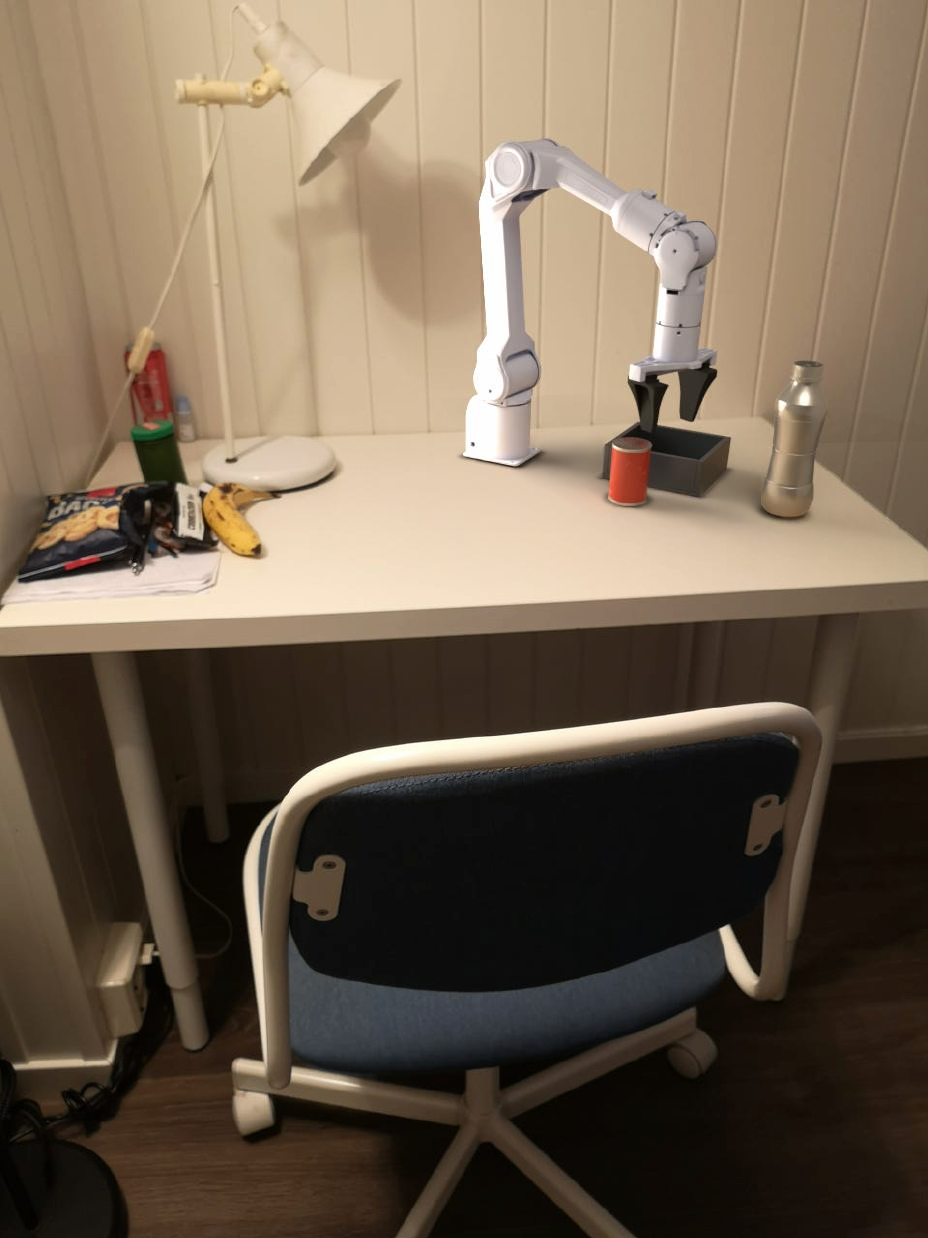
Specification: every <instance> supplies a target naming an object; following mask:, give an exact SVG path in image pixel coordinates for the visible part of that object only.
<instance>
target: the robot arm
mask: <svg viewBox="0 0 928 1238" xmlns="http://www.w3.org/2000/svg"><path fill="white" fill-rule="evenodd" d="M485 174H486V176H485V182H484V185H483V187H482V192H481V195H480V199H479V203H478V209H479V210H478V211H479V225H480V226H479V227H480V239H481V241H480V242H481V256H482V270H483V284H484V285H483V286H484V301H485V315H486V328H487V329H486V332H487V333H486V337H485V338H484V339H483V341H482V343H481V345H480V346H479V347H478V349H477V352H476V356H477V357H476V358H477V359H476V360H477V362H476V367H475V369H474V373H473V385H474V388H475V390H476V393H477V394H475V395H474V396H472V398H471V399H470V400H469V402H468V405H467V409H466V413H465V451H464V452H463V457H467V458H471V459H476V460H481V461H487V462H492V463H496V464H501V465H506V466H511V467H518V466H520V465H522V464H524V463H525V462H526V461H528V460H530V459H532V458H533V457H535V456H536V455H537V454H539V453H540V452H541V449H540V448H537V447H531V445H530V444H531V417H532V409H531V408H532V396H533V395H534V388H535V387H536V386H537V385H538V384H539V383H540V380H541V378H542V365H541V362H540V360H539V357H538V355H537V353H536V345H535V343H536V342H535V340H534V339H533V338H532V337H531V336H530V335H529V334H528V333H527V331H526V324H525V322H526V321H525V305H524V304H525V303H524V302H525V301H524V285H523V283H524V282H523V266H522V265H523V263H522V246H521V245H522V243H521V242H522V241H521V224H520V222H521V221H520V217H521V215H522V213H524V211H525V210H526V209H527V208H528V207H529V206H530V205H531V204H532V202H533V201H534V200H535V199H536V198H539V196H541V195H543V194H545V193H546V192H548V191H550V190H552V189H563V190H565V191H566V192H568V193H570V194H572V195H574V196H575V197H577V198H578V199H580V200H582V201H583V202H585V203H587V204H589V205H591V206H592V207H594V208H596V209H597V210H599V211H601V212H603V213H604V214H606V215H608V216H610V217H611V222H612V227H613V229H614V231H615V233H617V234H619V235H620V236H621V237H623V238H625V239H626V240H627V241H629V242H631V243H632V244H634V245H635V246H636V247H639V248H640V249H642V250H643V251H644V252H646V253H648V254H649V255H651V256H652V257H654V261H655V264H656V266H657V268H658V269H659V272H660V277H659V278H660V279H659V287H658V297H657V298H658V299H657V307H656V320H655V329H654V338H653V349H652V350H653V352H652V354H651V355H649V356H647V357H645V358H643V359H641V360H639V361H637V362H633V363H630V364H629V374H628V375H627V384H628V387H629V389H630V390H631V393H632V395H633V398H634V401H635V404H636V408H637V412H638V418H639V422H640V425H641V429H642V430H645V431H648V432H650V433H653V432H655V431H656V428H657V425H659V424H658V423H659V417H660V411H661V407H662V403H663V401H664V400H663V399H664V397H665V395H666V392H667V390H668V388H669V387H670V386H669V384H668V383H664V382H661V381H660V379H659V378H658V377H659V376H664V375H668V374H673V373H677V375H678V381H679V407H678V410H679V411H678V412H679V413H678V414H679V419H680V420H683V421H686V422H689V423H693V422H695V420H696V418H697V415H698V412H699V409H700V407H701V405H702V403H703V401H704V398H705V396H706V394H707V392H708V390H709V388H710V387H711V385H712V384H713V382H714V381H715V380H716V379H717V377H718V369H716V368H713V367H714V366H717V357H718V350H717V349H713V348H708V347H705V348H699V344H700V335H701V328H702V318H703V309H704V301H705V293H706V283H707V273H708V265H709V264H710V263H711V262H712V261H713V259H714V258H715V256H716V254H717V250H718V238H717V236H716V233H715V231H714V230H713V229H712V227H711V226H710V225H708V224H707V221H705V220H703V219H692V220H689V221H688V219H687V213H685V212H684V211H682V210H677V211H676V210H674V209H672V208H671V207H669V206H667V205H666V204H665V203H663V202H662V201H660V200H658V199H657V196H658V193H657V192H656V191H655V190H652V189H651V188H649V189H644V190H643V189H640V188H637V189H633V190H631V191H629V192H627V191H625V190H624V189H623V188H621V187H620V186H619V185H617V184H616V183H615V182H613V181H612V180H610V179H609V178H608V177H607V176H605V175H604V174H602V173H601V172H599V171H598V170H597V169H595V168H594V167H592V166H591V165H590V164H588V163H587V162H586V161H585V160H583V159H582V158H580V157H579V156H578V155H576V154H575V152H573V150H572V149H571V148H570V147H567V146H565V145H560V144H559V143H558V142H557V141H555V140H554V139H552V138H546V137H545V138H544V137H543V138H540V139H535V140H523V141H522V140H521V141H514V140H508V141H505V142H502V143H501V144H500V145H499V146H497V147H496V148H495V150H493V152H492V154H490V155H489V156H488V158H487V159H486V160H485ZM712 366H713V367H712Z"/></svg>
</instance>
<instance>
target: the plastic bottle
mask: <svg viewBox="0 0 928 1238" xmlns="http://www.w3.org/2000/svg"><path fill="white" fill-rule="evenodd" d="M824 369H825V364H824V363H823V362H820V361H815V360H806V359H805V360H796V361H793V363H792V367H791V372H790V373H789V379H791V381H790V382H789V383H788V384H787V385H786V386H785V387H784V388H783V389H782V390H781V391H780V392H779V394H778V395H777V396H776V398H775V401H774V404H773V438H772V449H771V455H770V459H769V464H768V468H767V473H766V476H765V477H764V480H763V483H762V487H761V490H760V503H761V505H762V508H763V509H764V510H765V511H766V513H769V514H772V515H775V516H779V517H785V518H795V517H800V516H803V515H805V514H806V513H807V512H808V511H809V510H810V508H811V506H812V503H813V501H814V491H815V490H814V488H815V487H814V474H815V473H814V471H815V461H816V460H815V459H816V453H817V449H818V445H819V440H820V436H821V433H822V431H823V427H824V425H825V422H826V419H827V415H828V411H829V403H828V399H827V396H826V394H825V391H824V390H823V388H822V387H821V385H820V382H821V381H822V382H823V380H824V379H823V378H824Z"/></svg>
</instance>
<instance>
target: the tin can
mask: <svg viewBox="0 0 928 1238" xmlns="http://www.w3.org/2000/svg"><path fill="white" fill-rule="evenodd" d="M651 448H652V444H651V442H649V441H647V440H644V439H640V438H632V437H626V438H619V439H616V440H614V441H613V442H612V457H611V470H610V479H609V482H608V483H609V485H608V495H607V499H608V501H609V502H610V503H612V504H614V505H618V506H622V507H637V506H642V505H644V504H646V502H647V501H648V497H647V495H648V488H649V487H648V476H649V466H650V456H651Z"/></svg>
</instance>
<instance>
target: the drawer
mask: <svg viewBox="0 0 928 1238" xmlns="http://www.w3.org/2000/svg"><path fill="white" fill-rule="evenodd" d="M626 437H632V438H640V439H644V440H647V441H649V442H651V444H652V448H651V456H650V466H649V476H648V487H647V488H651V489H656V490H662V491H666V492H671V493H676V494H681V495H685V496H692V497H697V498H700V496H701V495H703V494H704V493H705V492H706V491H707V490H708V489H709V488H710V487H711V486H712V485H713V484H714V483H715V482H716V481H717V480H718V479H719V478H720V477H722V475H723V474H724V473H725V472H726V471H727V470H728V464H729V456H730V447H731V442H732V436H725V435H722V434H715V433H710V432H704V431H697V430H690V429H684V428H679V427H674V426H668V425H662V424H657V428H656V431H655V432H653V433H650V432H648V431H645V430H642V429H641V425H640V421H637V422H635V423H634V424H632V425H631V426H629V427H628V428H627V429H625V430H623V431H622V432H620V433H619V434H618V435H616V436H614V437H613V438H612V439H611V440H609V441H607V442H606V443H605V444H604V447H603V452H604V453H603V464H602V477H601V478H602V479H605V480H610V470H611V457H612V442H613V441H614V440H616V439H619V438H626Z"/></svg>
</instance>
